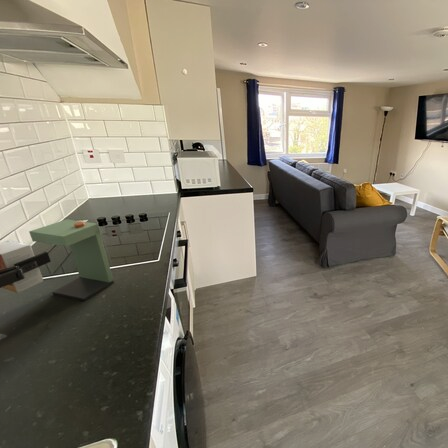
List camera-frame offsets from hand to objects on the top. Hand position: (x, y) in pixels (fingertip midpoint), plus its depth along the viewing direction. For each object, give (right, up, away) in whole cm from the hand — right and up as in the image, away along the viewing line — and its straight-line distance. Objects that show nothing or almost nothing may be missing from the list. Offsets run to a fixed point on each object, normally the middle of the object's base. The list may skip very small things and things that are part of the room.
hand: (34, 254), depth 68 cm
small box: (-1, -7, -2) cm, 8 cm away
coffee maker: (+1, -13, +15) cm, 20 cm away
